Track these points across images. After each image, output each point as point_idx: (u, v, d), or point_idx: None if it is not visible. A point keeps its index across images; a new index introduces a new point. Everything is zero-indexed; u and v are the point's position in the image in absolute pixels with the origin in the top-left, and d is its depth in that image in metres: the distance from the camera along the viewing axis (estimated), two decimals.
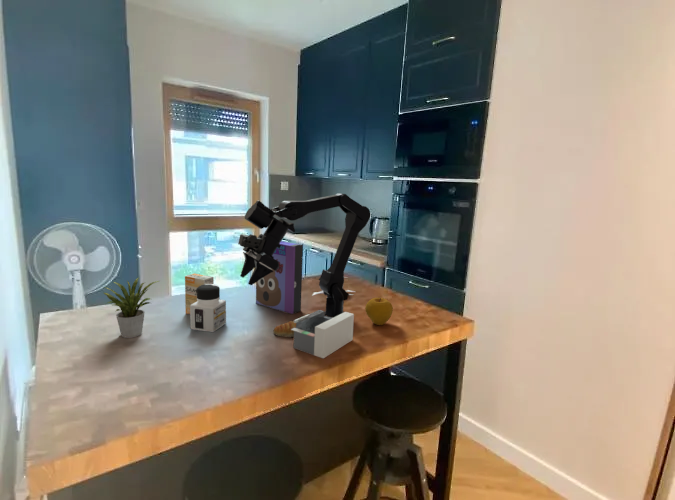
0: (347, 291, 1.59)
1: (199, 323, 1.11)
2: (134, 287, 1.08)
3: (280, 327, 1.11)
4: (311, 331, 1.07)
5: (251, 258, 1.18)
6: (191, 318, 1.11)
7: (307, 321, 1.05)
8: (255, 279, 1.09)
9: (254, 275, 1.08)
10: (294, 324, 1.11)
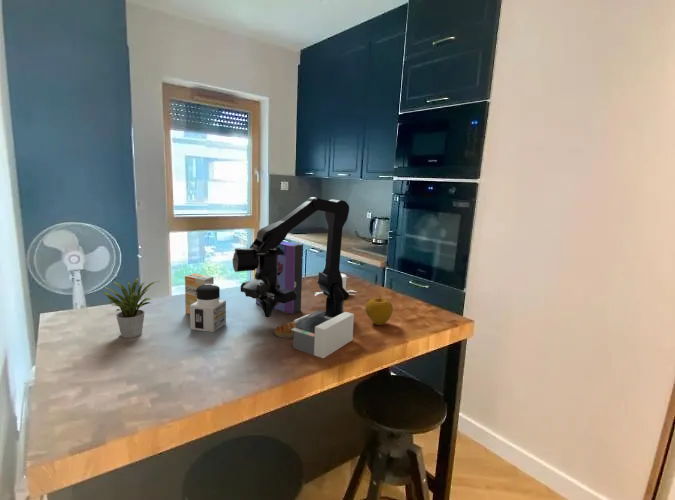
0: (349, 291, 1.59)
1: (199, 323, 1.11)
2: (134, 287, 1.08)
3: (281, 328, 1.10)
4: (311, 331, 1.07)
5: (265, 297, 1.17)
6: (191, 318, 1.11)
7: (307, 321, 1.05)
8: (270, 311, 1.17)
9: (269, 309, 1.16)
10: (295, 325, 1.11)
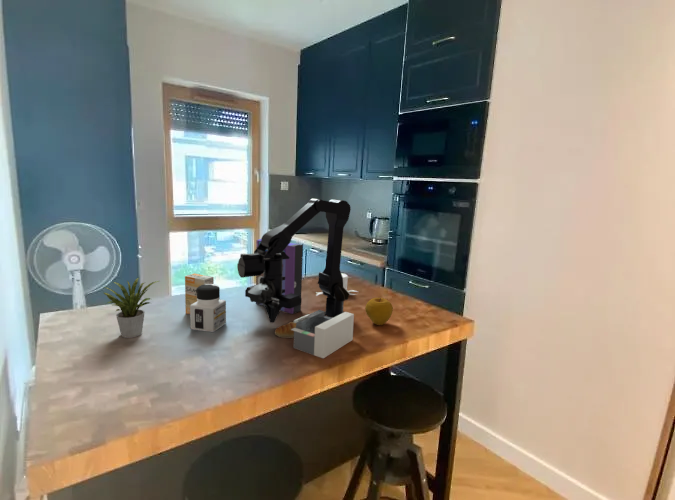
0: None
1: (199, 323, 1.11)
2: (134, 287, 1.08)
3: (281, 328, 1.10)
4: (311, 331, 1.07)
5: (270, 302, 1.16)
6: (191, 318, 1.11)
7: (307, 321, 1.05)
8: (275, 316, 1.16)
9: (274, 314, 1.15)
10: (295, 325, 1.11)
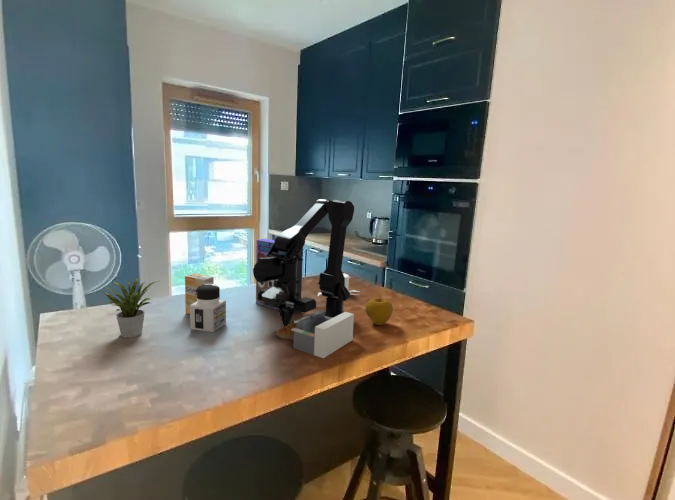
0: (352, 291, 1.59)
1: (199, 323, 1.11)
2: (134, 287, 1.08)
3: (284, 329, 1.09)
4: (311, 331, 1.07)
5: (283, 305, 1.13)
6: (191, 318, 1.11)
7: (307, 321, 1.05)
8: (289, 320, 1.13)
9: (287, 318, 1.12)
10: None
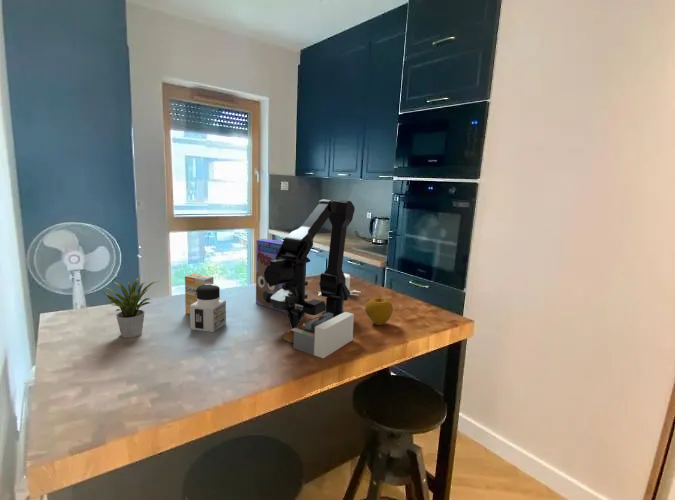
0: (353, 291, 1.59)
1: (199, 323, 1.11)
2: (134, 287, 1.08)
3: (291, 333, 1.07)
4: None
5: (292, 308, 1.11)
6: (191, 318, 1.11)
7: (316, 323, 1.03)
8: (297, 322, 1.11)
9: (296, 321, 1.10)
10: None
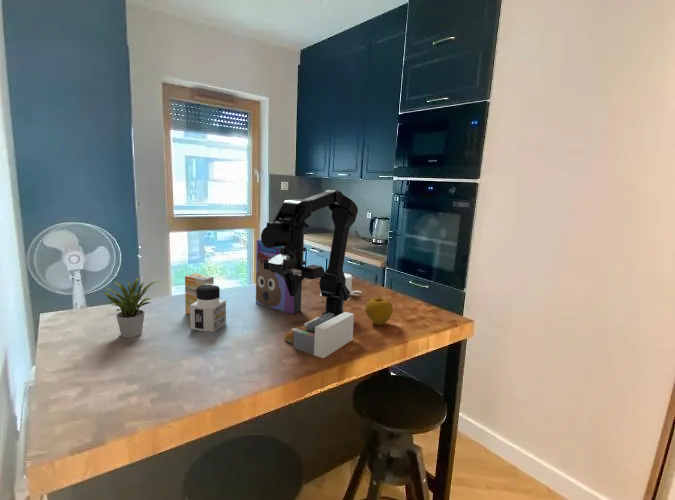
0: (355, 291, 1.59)
1: (199, 323, 1.11)
2: (134, 287, 1.08)
3: (292, 333, 1.06)
4: None
5: (290, 274, 1.10)
6: (191, 318, 1.11)
7: (317, 324, 1.03)
8: (296, 289, 1.10)
9: (294, 287, 1.09)
10: None
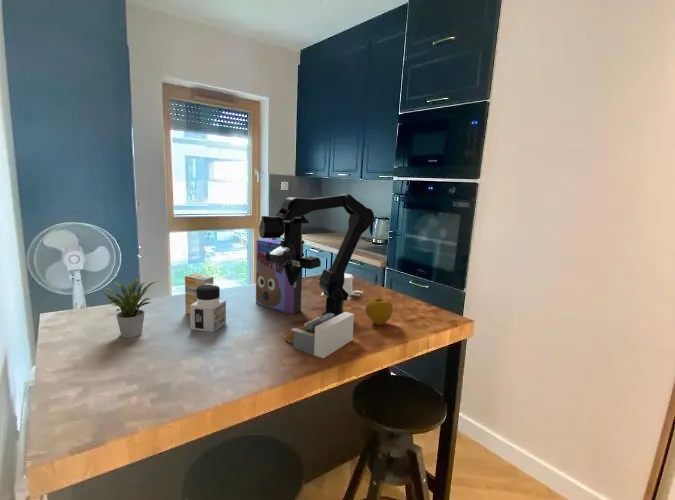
0: (356, 291, 1.59)
1: (199, 323, 1.11)
2: (134, 287, 1.08)
3: (293, 334, 1.06)
4: None
5: (289, 265, 1.20)
6: (191, 318, 1.11)
7: (318, 324, 1.03)
8: (295, 279, 1.20)
9: (293, 277, 1.19)
10: None
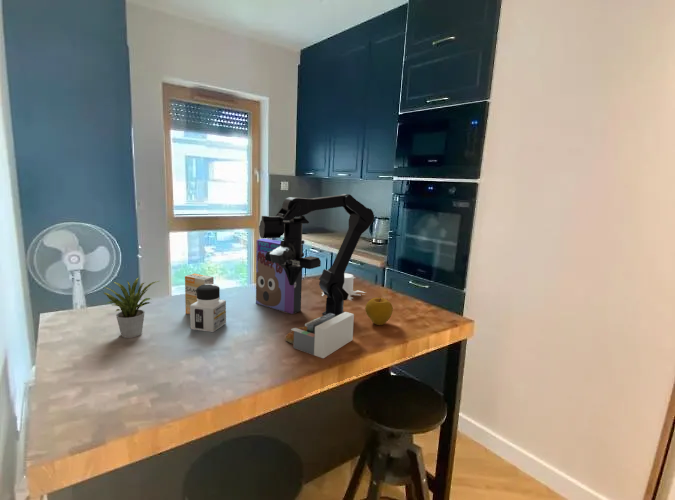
0: (357, 291, 1.59)
1: (199, 323, 1.11)
2: (134, 287, 1.08)
3: (293, 334, 1.06)
4: None
5: (289, 265, 1.20)
6: (191, 318, 1.11)
7: (318, 324, 1.03)
8: (295, 278, 1.20)
9: (293, 277, 1.19)
10: None
